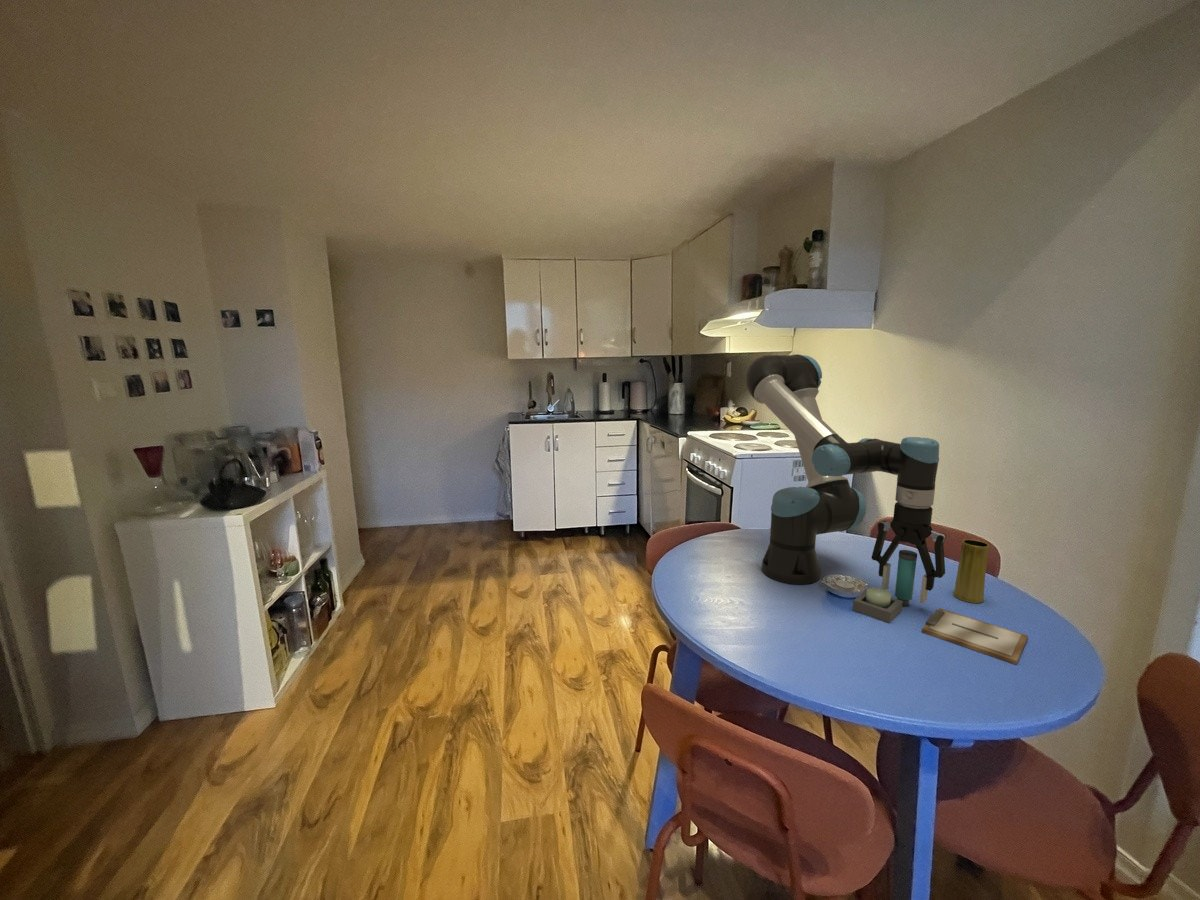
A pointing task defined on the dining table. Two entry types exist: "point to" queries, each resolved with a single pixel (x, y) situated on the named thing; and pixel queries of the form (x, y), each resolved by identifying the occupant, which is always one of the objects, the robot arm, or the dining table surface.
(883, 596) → the button
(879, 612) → the button frame
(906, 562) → the marker
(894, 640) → the dining table surface
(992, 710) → the dining table surface
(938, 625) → the drawing board
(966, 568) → the vase
